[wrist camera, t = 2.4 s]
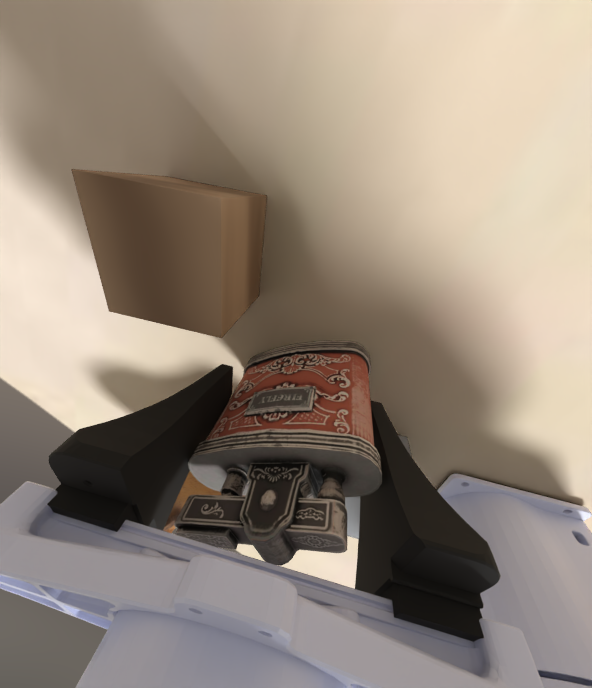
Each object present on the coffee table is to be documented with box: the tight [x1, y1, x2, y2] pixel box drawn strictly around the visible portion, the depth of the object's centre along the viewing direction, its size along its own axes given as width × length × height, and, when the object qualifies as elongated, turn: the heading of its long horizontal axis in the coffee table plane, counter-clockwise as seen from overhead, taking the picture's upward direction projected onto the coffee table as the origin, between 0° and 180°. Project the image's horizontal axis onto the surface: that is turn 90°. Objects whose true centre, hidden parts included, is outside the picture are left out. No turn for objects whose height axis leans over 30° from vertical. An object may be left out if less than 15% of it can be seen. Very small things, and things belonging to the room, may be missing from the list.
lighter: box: [174, 341, 382, 565], centre depth 12 cm, size 8×3×10 cm, turn 107°
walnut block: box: [72, 169, 267, 338], centre depth 11 cm, size 5×5×5 cm
